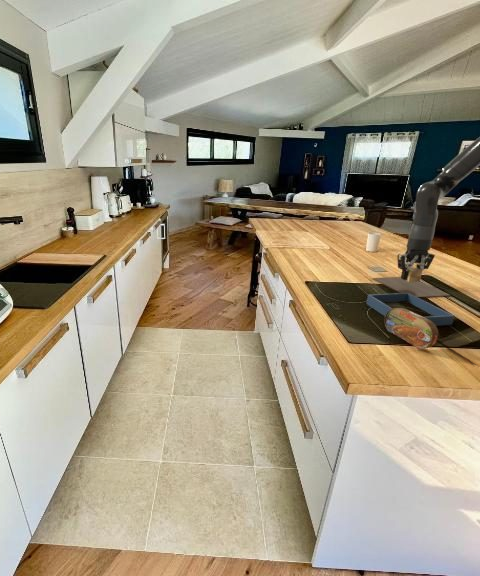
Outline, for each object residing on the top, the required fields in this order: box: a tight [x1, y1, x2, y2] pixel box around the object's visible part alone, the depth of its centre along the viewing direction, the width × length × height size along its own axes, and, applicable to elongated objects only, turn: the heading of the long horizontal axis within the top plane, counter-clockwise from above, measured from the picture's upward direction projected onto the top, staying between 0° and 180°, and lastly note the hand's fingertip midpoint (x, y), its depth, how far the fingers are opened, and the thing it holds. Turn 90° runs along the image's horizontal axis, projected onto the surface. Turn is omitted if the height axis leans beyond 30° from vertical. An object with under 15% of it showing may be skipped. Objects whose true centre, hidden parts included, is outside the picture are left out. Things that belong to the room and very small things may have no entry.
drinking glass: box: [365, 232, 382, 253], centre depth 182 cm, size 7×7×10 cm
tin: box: [384, 307, 439, 350], centre depth 88 cm, size 15×3×8 cm, turn 13°
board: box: [372, 276, 452, 299], centre depth 125 cm, size 16×22×2 cm
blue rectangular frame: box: [365, 292, 455, 327], centre depth 103 cm, size 15×19×4 cm
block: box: [406, 266, 424, 282], centre depth 123 cm, size 5×5×5 cm
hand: (410, 279), depth 124 cm, fingers closed on block, 4 cm apart
